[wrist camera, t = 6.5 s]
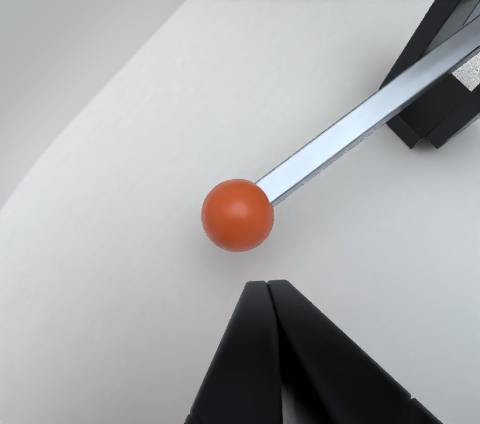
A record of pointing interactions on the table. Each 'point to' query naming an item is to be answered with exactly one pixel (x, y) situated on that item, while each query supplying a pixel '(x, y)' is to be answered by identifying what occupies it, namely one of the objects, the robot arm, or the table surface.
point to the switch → (328, 146)
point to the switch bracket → (442, 94)
